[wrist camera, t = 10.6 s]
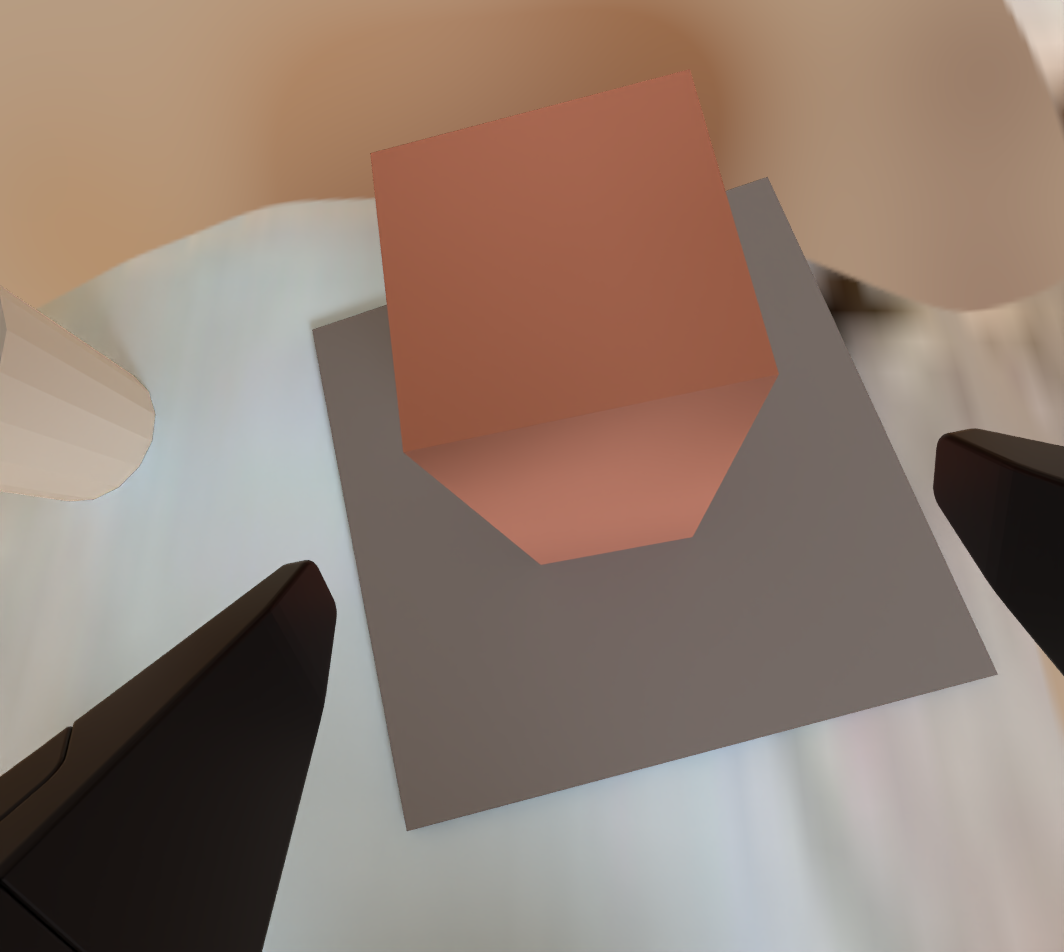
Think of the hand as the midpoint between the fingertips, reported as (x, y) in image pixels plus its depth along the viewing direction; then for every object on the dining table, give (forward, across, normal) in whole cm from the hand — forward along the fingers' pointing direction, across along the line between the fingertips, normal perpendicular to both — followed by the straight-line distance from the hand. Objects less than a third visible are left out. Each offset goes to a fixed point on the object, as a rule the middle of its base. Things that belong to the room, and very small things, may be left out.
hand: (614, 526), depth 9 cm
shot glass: (+16, +20, +2) cm, 25 cm away
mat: (+11, 0, +6) cm, 13 cm away
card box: (+11, 0, +6) cm, 12 cm away
